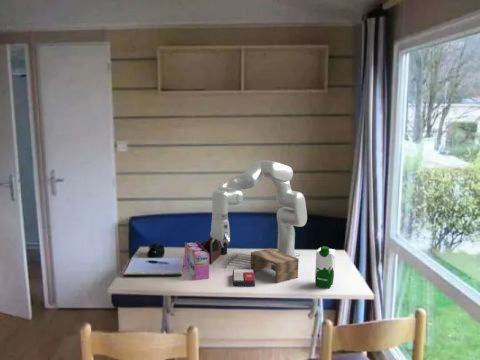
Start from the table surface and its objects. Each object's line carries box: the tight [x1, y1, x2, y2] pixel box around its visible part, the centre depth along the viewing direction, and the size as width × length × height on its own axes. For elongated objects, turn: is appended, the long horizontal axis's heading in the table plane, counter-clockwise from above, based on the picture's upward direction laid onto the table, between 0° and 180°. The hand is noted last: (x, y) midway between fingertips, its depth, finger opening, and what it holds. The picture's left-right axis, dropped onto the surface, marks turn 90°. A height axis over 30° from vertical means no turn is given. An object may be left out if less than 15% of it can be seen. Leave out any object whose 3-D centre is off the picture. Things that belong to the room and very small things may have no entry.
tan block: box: [249, 247, 299, 284], centre depth 244 cm, size 14×22×10 cm, turn 36°
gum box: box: [184, 241, 210, 281], centre depth 246 cm, size 24×8×14 cm, turn 20°
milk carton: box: [314, 245, 336, 290], centre depth 229 cm, size 9×9×20 cm
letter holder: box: [200, 237, 222, 266], centre depth 268 cm, size 10×20×14 cm, turn 165°
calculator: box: [232, 268, 256, 288], centre depth 235 cm, size 11×4×15 cm
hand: (219, 252), depth 222 cm, fingers open, 6 cm apart
